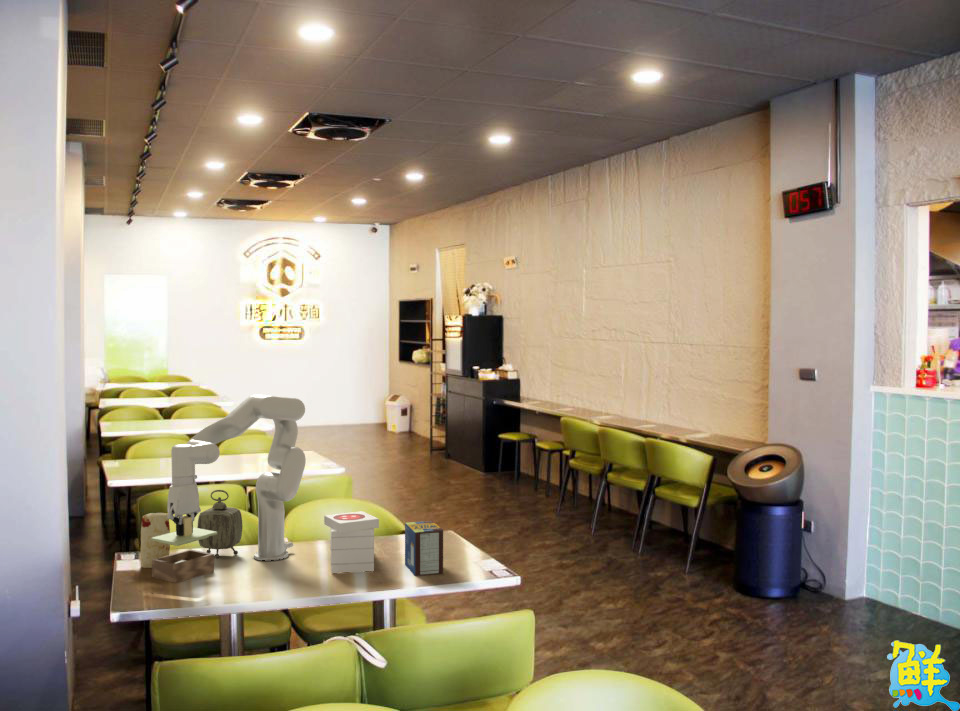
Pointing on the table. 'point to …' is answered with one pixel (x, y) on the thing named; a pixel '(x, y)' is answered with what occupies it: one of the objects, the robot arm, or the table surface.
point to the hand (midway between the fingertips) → (184, 533)
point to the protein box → (424, 548)
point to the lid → (188, 535)
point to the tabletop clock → (221, 526)
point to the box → (182, 566)
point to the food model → (151, 528)
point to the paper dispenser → (352, 541)
